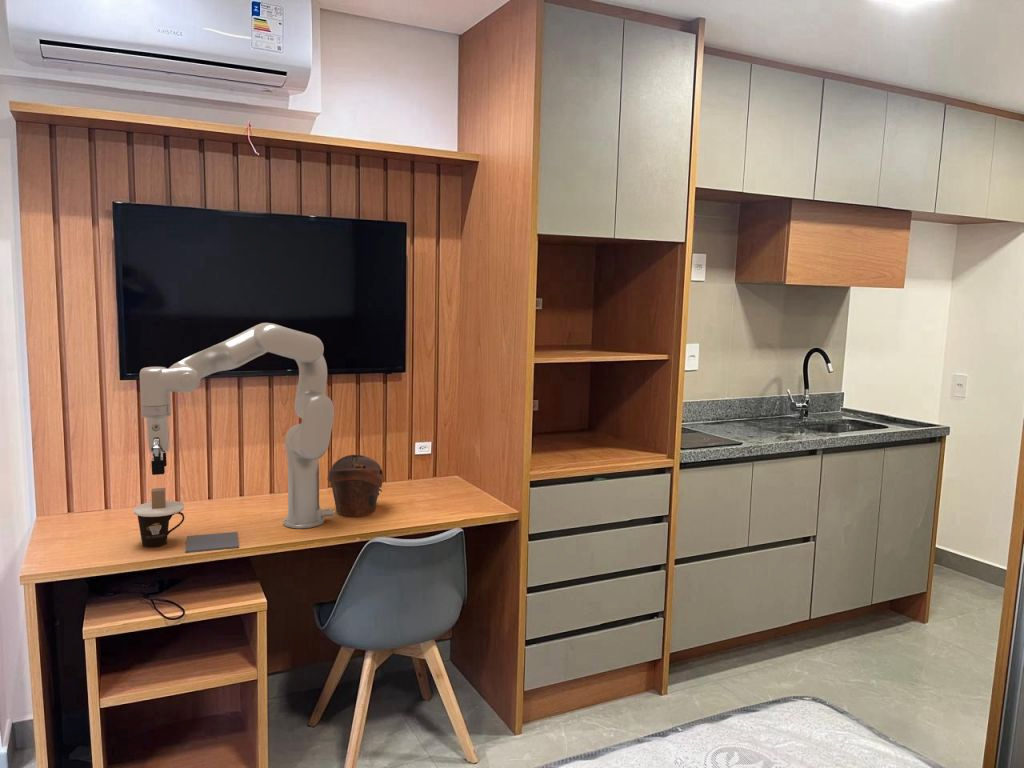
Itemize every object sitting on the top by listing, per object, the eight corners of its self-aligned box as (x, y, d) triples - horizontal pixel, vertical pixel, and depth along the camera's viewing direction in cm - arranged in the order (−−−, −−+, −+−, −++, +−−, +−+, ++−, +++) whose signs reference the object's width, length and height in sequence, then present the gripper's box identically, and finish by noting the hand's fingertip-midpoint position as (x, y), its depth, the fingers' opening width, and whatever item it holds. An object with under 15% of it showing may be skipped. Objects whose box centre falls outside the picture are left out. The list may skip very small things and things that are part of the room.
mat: (237, 533, 233) (237, 531, 233) (238, 547, 220) (238, 546, 220) (187, 537, 228) (187, 535, 228) (185, 552, 215) (185, 551, 215)
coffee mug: (133, 549, 217) (131, 514, 216) (145, 539, 225) (144, 506, 224) (175, 549, 218) (174, 514, 216) (186, 539, 226) (185, 506, 225)
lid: (184, 502, 229) (184, 482, 228) (183, 514, 217) (182, 493, 216) (135, 506, 224) (135, 485, 223) (131, 518, 212) (131, 497, 211)
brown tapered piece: (356, 523, 245) (356, 467, 243) (315, 511, 257) (315, 458, 255) (396, 512, 259) (397, 460, 258) (356, 502, 271) (356, 451, 270)
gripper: (169, 415, 210) (172, 476, 213) (172, 405, 226) (175, 462, 229) (138, 416, 208) (142, 478, 210) (144, 407, 224) (147, 464, 226)
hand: (159, 470), depth 219 cm, fingers open, 9 cm apart
